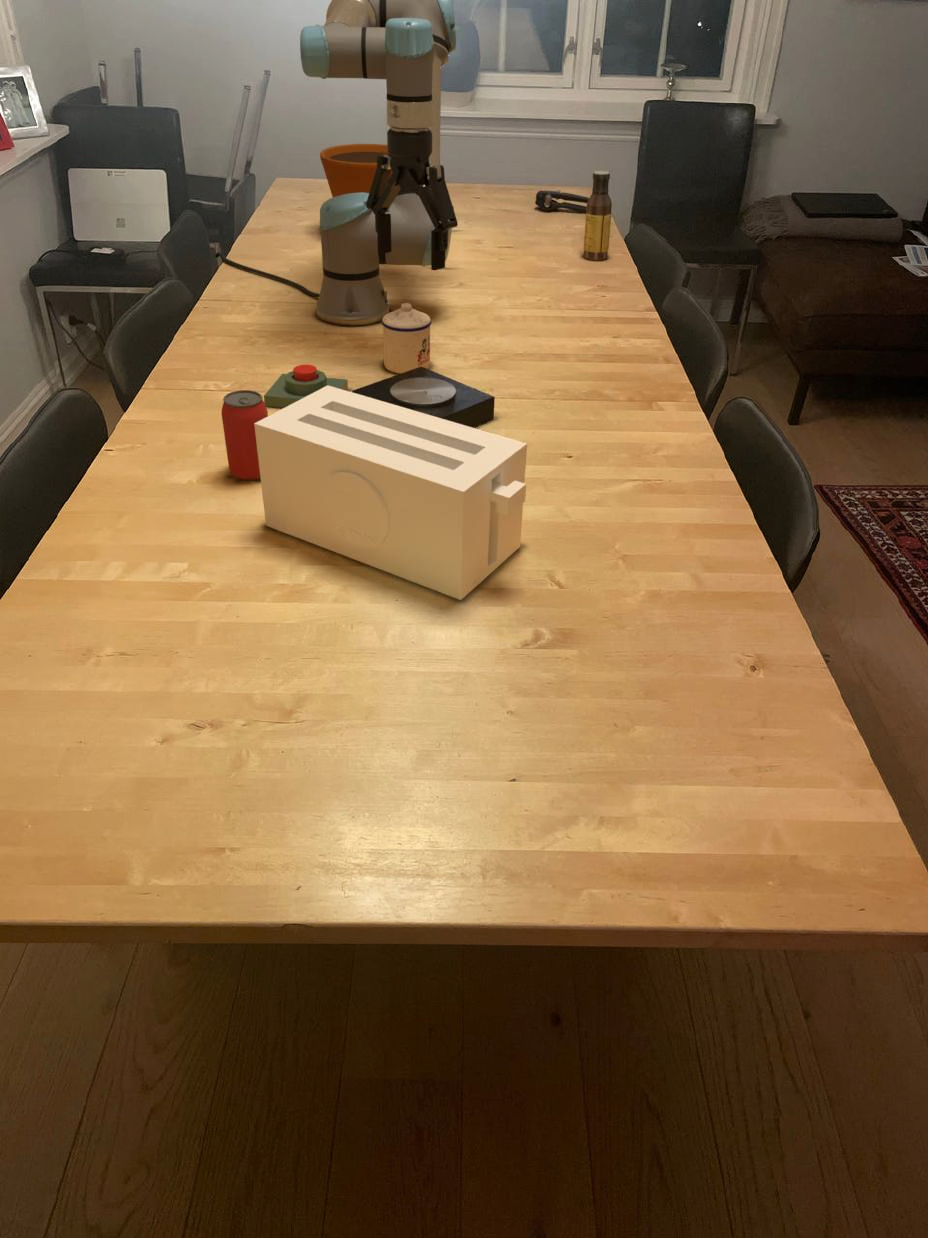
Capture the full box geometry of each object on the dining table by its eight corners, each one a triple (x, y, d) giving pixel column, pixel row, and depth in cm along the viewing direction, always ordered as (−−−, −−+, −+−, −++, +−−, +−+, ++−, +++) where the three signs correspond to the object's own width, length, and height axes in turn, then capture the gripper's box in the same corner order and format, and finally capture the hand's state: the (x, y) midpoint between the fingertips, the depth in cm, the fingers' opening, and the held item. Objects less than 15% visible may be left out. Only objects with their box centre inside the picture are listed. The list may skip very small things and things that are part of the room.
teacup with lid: (428, 376, 177) (428, 313, 170) (379, 373, 177) (377, 311, 170) (435, 352, 186) (436, 292, 179) (389, 350, 187) (387, 289, 180)
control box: (264, 406, 165) (262, 384, 162) (283, 383, 173) (281, 362, 170) (332, 413, 163) (331, 390, 161) (348, 389, 171) (346, 368, 169)
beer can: (236, 485, 142) (226, 410, 135) (224, 466, 147) (213, 392, 140) (279, 476, 145) (271, 402, 137) (265, 458, 149) (257, 385, 142)
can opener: (533, 212, 276) (534, 191, 272) (535, 206, 281) (537, 185, 278) (594, 216, 273) (597, 195, 270) (596, 210, 279) (598, 189, 276)
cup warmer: (351, 411, 164) (349, 386, 161) (419, 386, 173) (419, 361, 170) (425, 447, 154) (425, 421, 151) (493, 418, 163) (495, 393, 160)
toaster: (262, 528, 132) (250, 425, 123) (334, 482, 143) (327, 385, 134) (478, 611, 118) (482, 502, 109) (539, 553, 129) (548, 449, 120)
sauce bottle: (602, 253, 244) (611, 168, 232) (610, 260, 239) (620, 174, 227) (578, 254, 242) (586, 169, 231) (586, 261, 238) (594, 174, 226)
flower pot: (413, 250, 242) (412, 164, 230) (319, 247, 242) (313, 161, 230) (418, 225, 261) (417, 144, 249) (331, 222, 261) (326, 142, 249)
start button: (290, 381, 164) (290, 372, 163) (298, 373, 168) (297, 363, 167) (313, 383, 164) (312, 374, 163) (320, 375, 167) (319, 365, 166)
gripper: (342, 120, 163) (348, 249, 176) (448, 141, 150) (446, 279, 162) (375, 116, 168) (378, 242, 180) (480, 136, 154) (476, 271, 166)
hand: (410, 260), depth 171 cm, fingers open, 13 cm apart
